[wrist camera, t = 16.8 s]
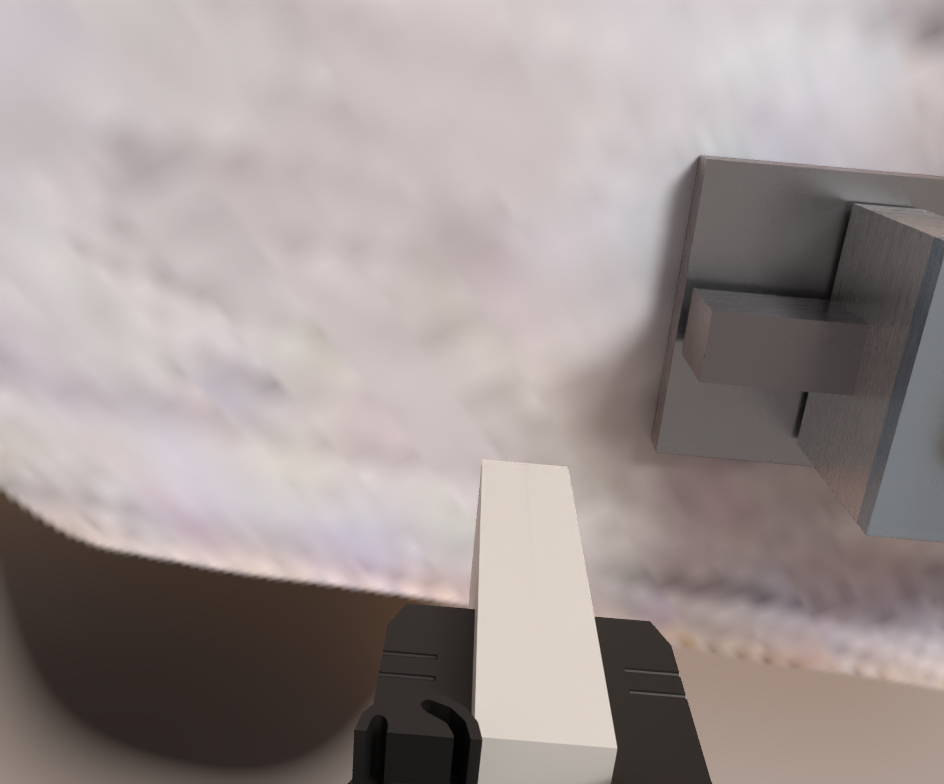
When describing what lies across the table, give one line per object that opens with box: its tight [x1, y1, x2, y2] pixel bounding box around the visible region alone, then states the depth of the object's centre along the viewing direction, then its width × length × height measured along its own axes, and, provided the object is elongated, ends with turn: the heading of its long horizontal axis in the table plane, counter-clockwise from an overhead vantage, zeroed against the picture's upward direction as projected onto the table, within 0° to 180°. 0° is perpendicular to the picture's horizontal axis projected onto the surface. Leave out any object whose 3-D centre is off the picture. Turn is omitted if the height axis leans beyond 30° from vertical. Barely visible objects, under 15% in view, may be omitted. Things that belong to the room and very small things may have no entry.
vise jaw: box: [682, 203, 944, 542], centre depth 28 cm, size 7×9×7 cm
